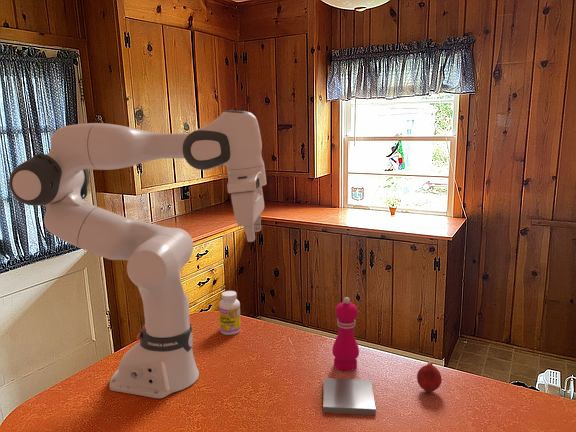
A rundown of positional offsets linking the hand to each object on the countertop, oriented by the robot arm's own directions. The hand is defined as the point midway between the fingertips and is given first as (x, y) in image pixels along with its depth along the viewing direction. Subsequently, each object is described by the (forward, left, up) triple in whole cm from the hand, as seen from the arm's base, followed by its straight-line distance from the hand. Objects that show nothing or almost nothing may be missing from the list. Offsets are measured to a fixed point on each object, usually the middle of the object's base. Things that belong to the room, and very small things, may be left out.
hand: (254, 235), depth 111 cm
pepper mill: (+23, +9, -39) cm, 46 cm away
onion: (+43, -2, -39) cm, 58 cm away
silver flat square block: (+23, -6, -39) cm, 46 cm away
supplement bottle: (-13, +28, -39) cm, 50 cm away
